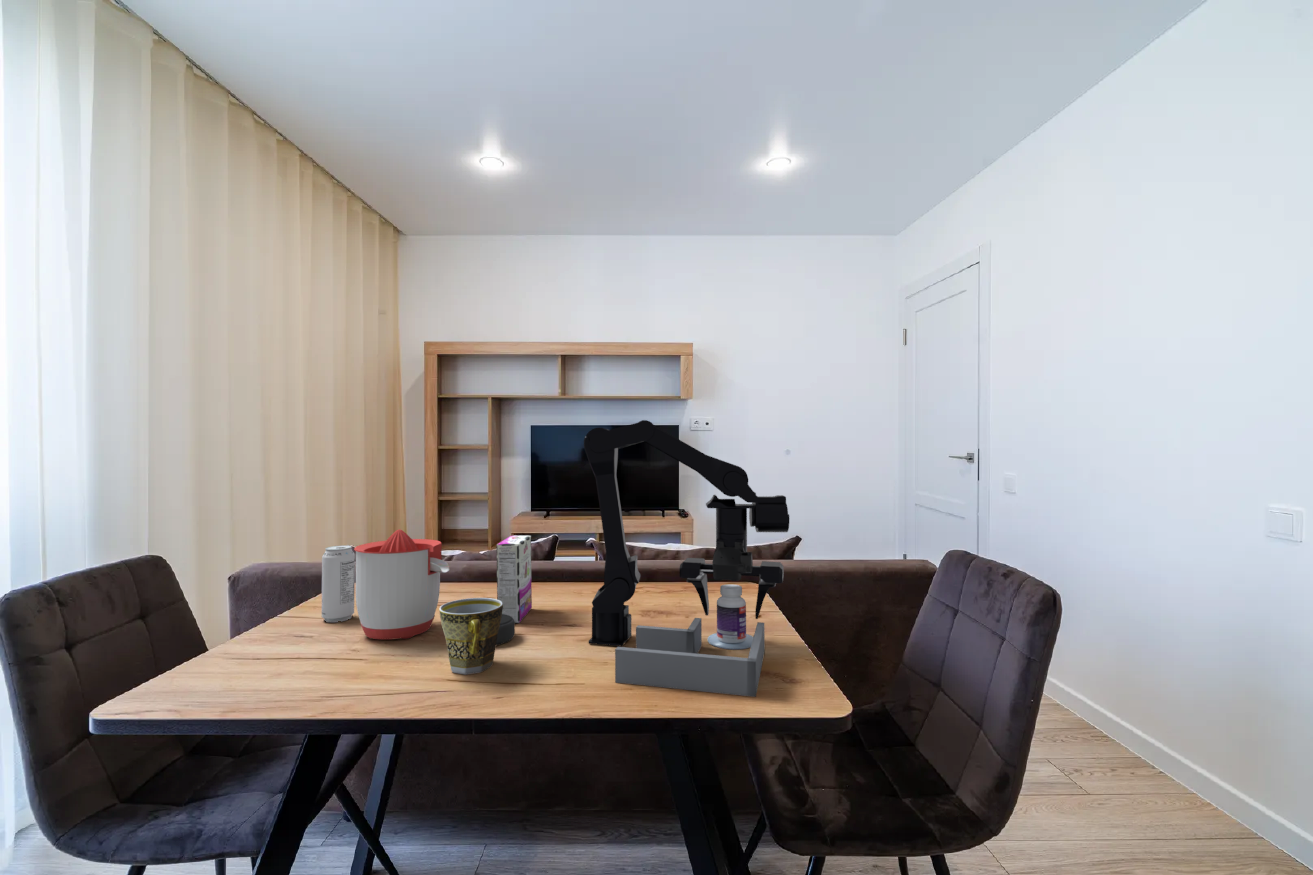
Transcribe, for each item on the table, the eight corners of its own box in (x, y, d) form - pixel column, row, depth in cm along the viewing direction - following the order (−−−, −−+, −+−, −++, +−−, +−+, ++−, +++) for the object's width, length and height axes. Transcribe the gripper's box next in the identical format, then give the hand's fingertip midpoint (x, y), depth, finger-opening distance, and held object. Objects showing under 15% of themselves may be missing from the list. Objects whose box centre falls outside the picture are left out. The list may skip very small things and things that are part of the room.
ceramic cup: (437, 660, 97) (437, 601, 97) (498, 652, 101) (498, 595, 101) (441, 690, 85) (441, 622, 85) (510, 679, 89) (510, 614, 89)
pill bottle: (745, 644, 104) (745, 590, 104) (715, 643, 105) (715, 589, 105) (747, 635, 109) (746, 583, 109) (718, 634, 110) (717, 582, 110)
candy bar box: (509, 608, 129) (510, 535, 129) (532, 608, 129) (532, 535, 129) (495, 623, 118) (495, 543, 118) (519, 623, 118) (519, 543, 118)
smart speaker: (474, 632, 113) (475, 612, 113) (520, 633, 112) (520, 612, 112) (457, 648, 104) (458, 626, 104) (506, 648, 103) (506, 626, 103)
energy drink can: (334, 614, 125) (335, 544, 125) (360, 615, 124) (361, 545, 124) (314, 622, 119) (315, 549, 119) (341, 623, 118) (342, 550, 118)
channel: (615, 682, 88) (615, 649, 88) (648, 641, 107) (648, 614, 107) (755, 696, 83) (755, 661, 83) (764, 651, 101) (764, 622, 101)
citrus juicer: (430, 645, 105) (431, 535, 105) (335, 645, 105) (336, 535, 105) (461, 620, 120) (461, 524, 121) (379, 619, 121) (379, 523, 121)
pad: (703, 647, 103) (703, 645, 103) (711, 631, 112) (711, 630, 112) (754, 651, 101) (754, 649, 101) (758, 635, 110) (758, 633, 110)
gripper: (672, 536, 102) (673, 625, 101) (781, 540, 97) (781, 634, 97) (685, 528, 112) (685, 608, 112) (783, 531, 108) (783, 615, 108)
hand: (731, 616), depth 107 cm, fingers open, 9 cm apart
